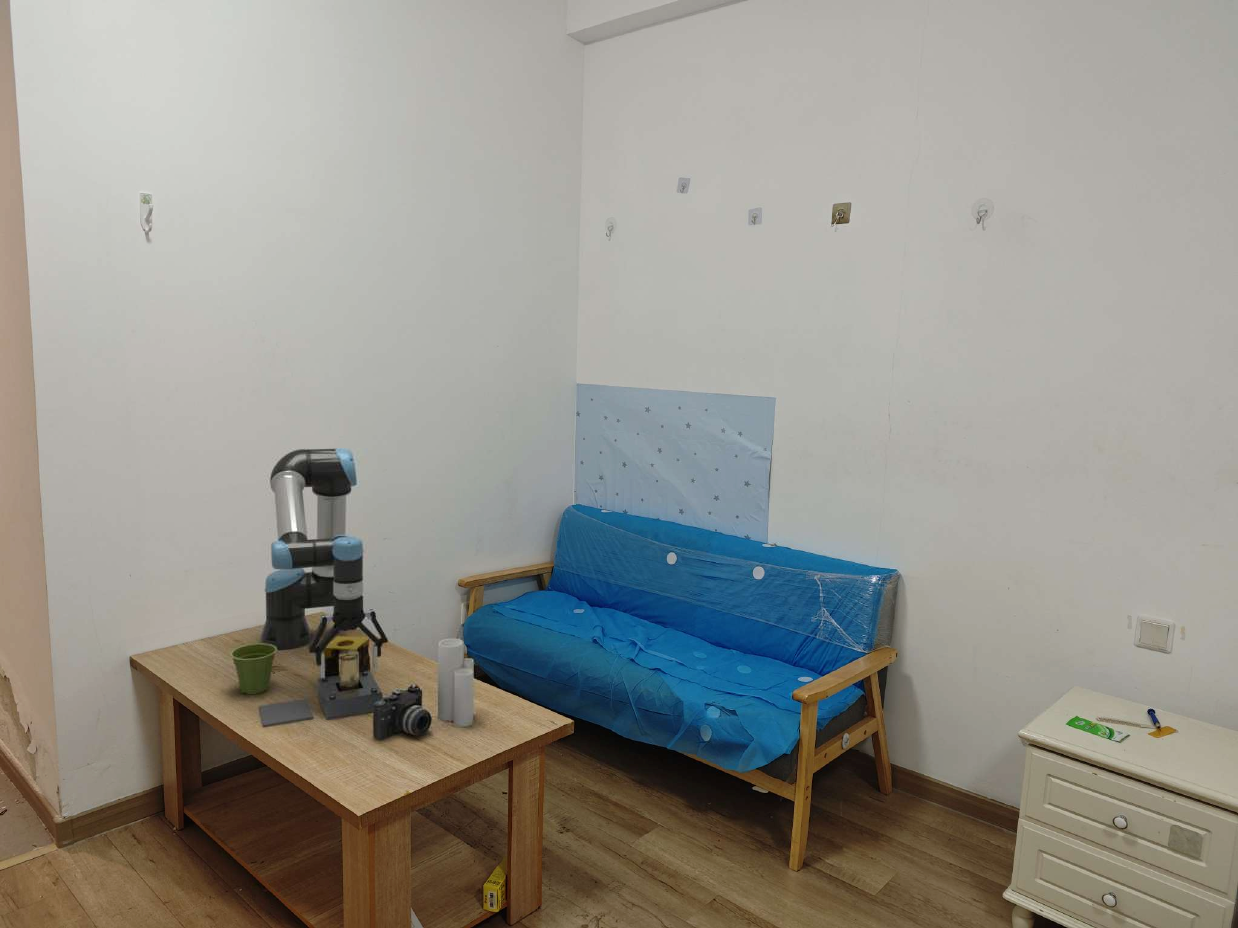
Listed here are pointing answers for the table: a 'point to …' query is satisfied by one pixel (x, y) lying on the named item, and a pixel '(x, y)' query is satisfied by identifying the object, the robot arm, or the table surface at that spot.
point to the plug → (348, 670)
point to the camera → (400, 713)
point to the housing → (348, 696)
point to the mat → (285, 712)
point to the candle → (343, 645)
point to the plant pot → (254, 666)
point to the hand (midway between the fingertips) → (349, 672)
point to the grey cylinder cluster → (455, 683)
